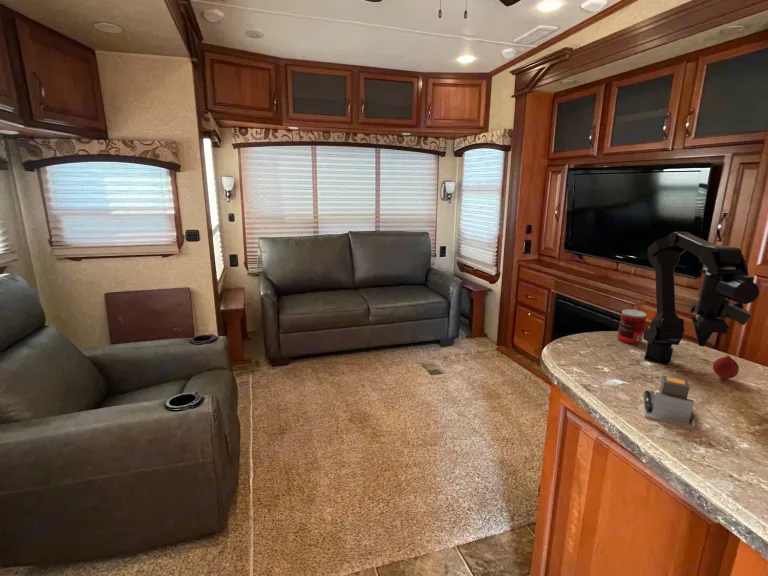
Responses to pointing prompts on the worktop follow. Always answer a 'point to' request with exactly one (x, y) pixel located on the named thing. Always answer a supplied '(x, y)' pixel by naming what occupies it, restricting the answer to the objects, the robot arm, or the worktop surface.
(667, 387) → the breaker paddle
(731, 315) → the robot arm
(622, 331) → the canned food
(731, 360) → the onion
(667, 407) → the grey handled base plate
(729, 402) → the worktop surface
